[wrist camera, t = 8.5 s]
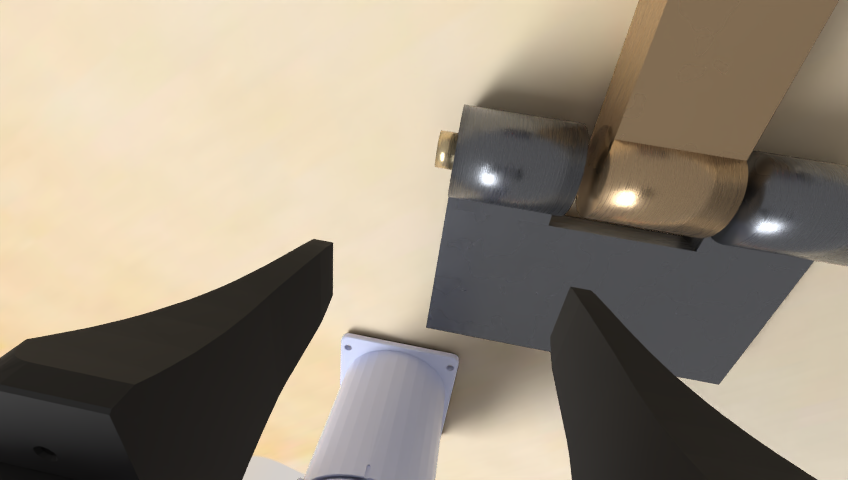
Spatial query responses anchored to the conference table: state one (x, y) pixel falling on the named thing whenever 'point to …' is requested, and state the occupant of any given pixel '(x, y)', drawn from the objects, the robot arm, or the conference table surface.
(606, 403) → the robot arm
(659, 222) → the brown boxy piece
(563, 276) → the metal hinge
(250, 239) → the conference table surface
